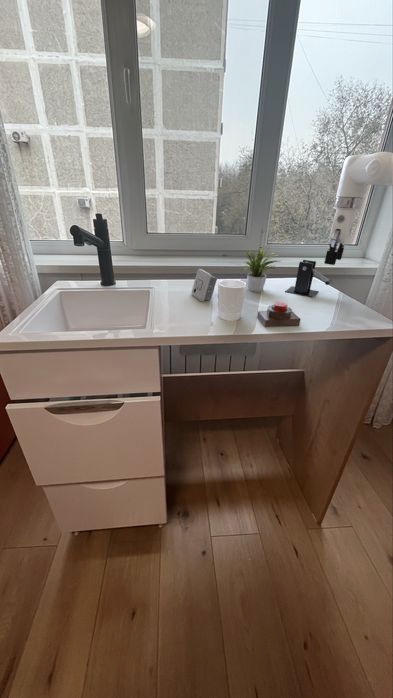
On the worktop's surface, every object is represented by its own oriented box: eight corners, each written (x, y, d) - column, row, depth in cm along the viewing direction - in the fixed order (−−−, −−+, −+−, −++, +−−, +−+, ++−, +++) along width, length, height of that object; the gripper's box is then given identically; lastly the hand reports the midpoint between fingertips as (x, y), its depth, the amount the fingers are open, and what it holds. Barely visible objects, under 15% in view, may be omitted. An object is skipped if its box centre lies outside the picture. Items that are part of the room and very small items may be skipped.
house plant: (252, 301, 97) (258, 251, 89) (226, 290, 107) (230, 244, 99) (281, 294, 104) (289, 248, 96) (254, 285, 114) (260, 242, 106)
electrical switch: (190, 294, 103) (193, 268, 98) (203, 294, 105) (207, 268, 100) (201, 302, 95) (204, 274, 91) (214, 302, 97) (218, 275, 93)
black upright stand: (318, 294, 106) (325, 261, 100) (312, 300, 100) (320, 265, 94) (291, 289, 110) (297, 257, 105) (284, 294, 105) (290, 261, 99)
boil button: (283, 307, 82) (284, 301, 81) (288, 312, 79) (289, 306, 78) (271, 307, 82) (272, 302, 81) (275, 312, 79) (276, 306, 78)
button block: (289, 316, 86) (291, 304, 84) (299, 326, 80) (302, 312, 78) (257, 317, 85) (258, 304, 83) (264, 327, 79) (266, 313, 77)
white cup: (210, 316, 85) (212, 283, 80) (226, 309, 90) (229, 278, 85) (232, 324, 80) (235, 289, 75) (247, 316, 85) (251, 283, 80)
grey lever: (329, 283, 101) (334, 278, 99) (326, 287, 97) (330, 281, 95) (303, 266, 103) (307, 260, 102) (299, 268, 99) (303, 262, 98)
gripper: (356, 205, 79) (339, 268, 87) (365, 204, 91) (349, 259, 100) (328, 204, 82) (314, 264, 91) (340, 202, 95) (326, 256, 103)
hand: (332, 261), depth 95 cm, fingers open, 9 cm apart
